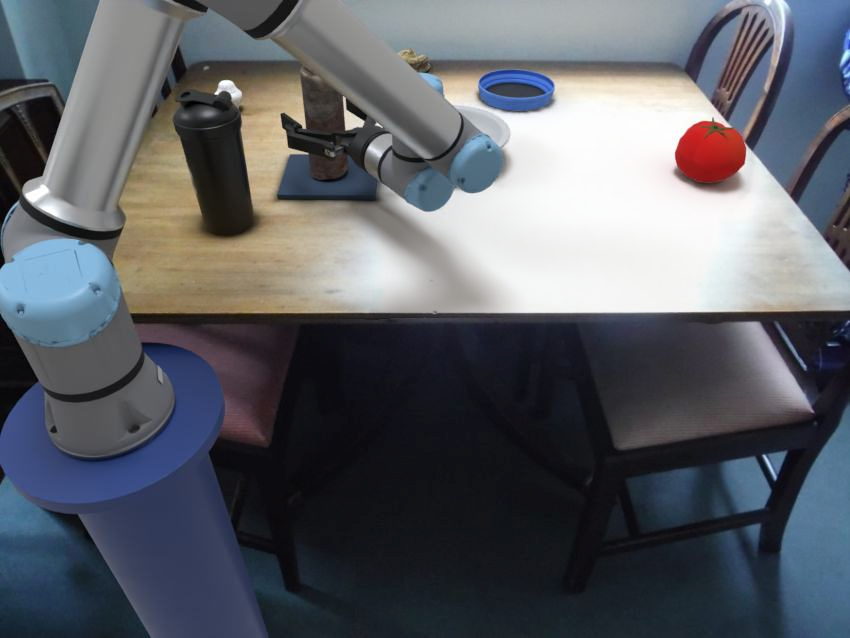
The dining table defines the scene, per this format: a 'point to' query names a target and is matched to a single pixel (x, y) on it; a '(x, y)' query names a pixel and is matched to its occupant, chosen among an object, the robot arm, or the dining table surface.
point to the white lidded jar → (230, 91)
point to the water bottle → (215, 159)
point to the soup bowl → (487, 123)
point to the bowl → (516, 89)
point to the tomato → (710, 152)
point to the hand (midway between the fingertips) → (316, 111)
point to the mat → (325, 182)
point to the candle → (323, 121)
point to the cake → (415, 60)
